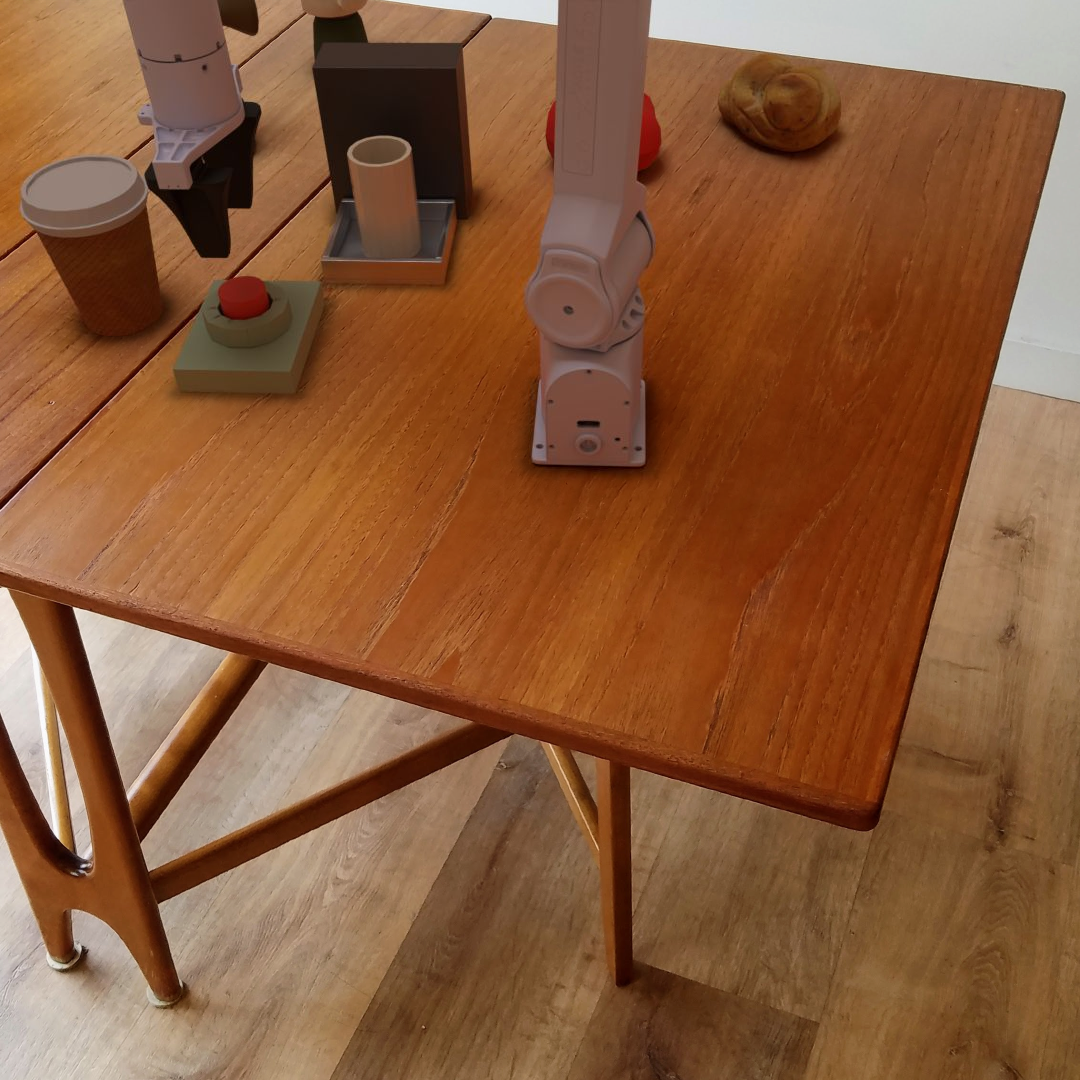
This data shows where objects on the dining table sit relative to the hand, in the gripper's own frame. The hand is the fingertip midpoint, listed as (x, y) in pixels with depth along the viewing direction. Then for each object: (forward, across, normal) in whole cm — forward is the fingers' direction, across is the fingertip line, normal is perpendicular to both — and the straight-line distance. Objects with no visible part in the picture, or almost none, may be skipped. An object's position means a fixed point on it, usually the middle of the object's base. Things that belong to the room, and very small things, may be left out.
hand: (227, 230), depth 85 cm
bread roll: (+11, -37, +44) cm, 58 cm away
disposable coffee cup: (+11, -4, -12) cm, 17 cm away
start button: (+7, 0, 0) cm, 7 cm away
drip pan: (+10, -14, +9) cm, 20 cm away
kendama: (+11, -32, -10) cm, 35 cm away
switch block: (+10, 0, 0) cm, 10 cm away
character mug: (+11, -51, -2) cm, 52 cm away
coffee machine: (+10, -22, +9) cm, 26 cm away
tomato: (+11, -30, +27) cm, 42 cm away
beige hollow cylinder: (+10, -14, +9) cm, 19 cm away
